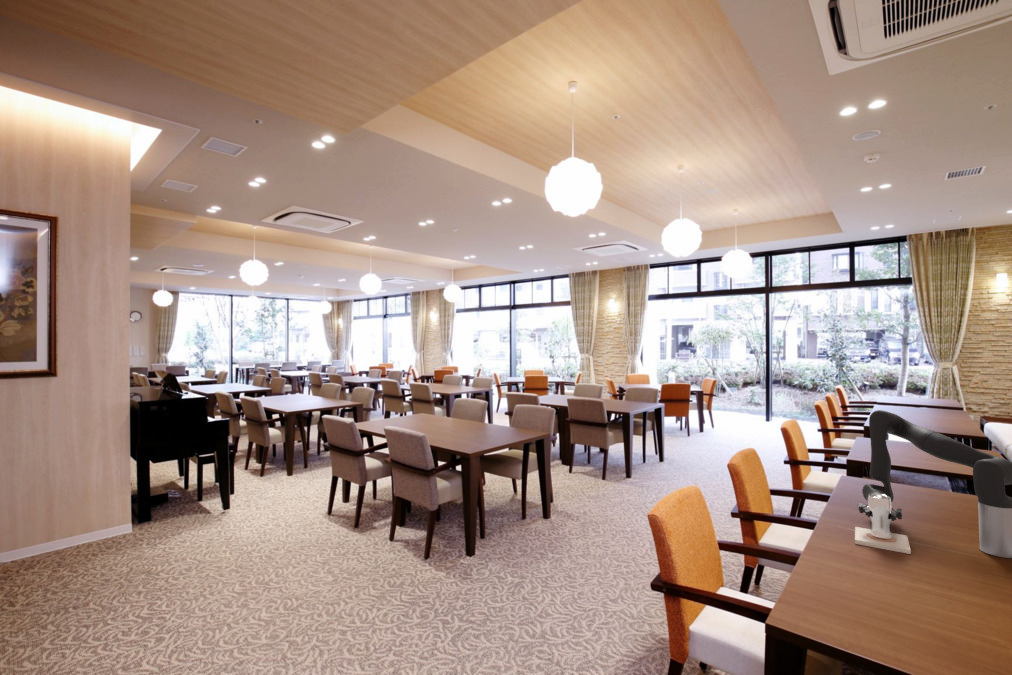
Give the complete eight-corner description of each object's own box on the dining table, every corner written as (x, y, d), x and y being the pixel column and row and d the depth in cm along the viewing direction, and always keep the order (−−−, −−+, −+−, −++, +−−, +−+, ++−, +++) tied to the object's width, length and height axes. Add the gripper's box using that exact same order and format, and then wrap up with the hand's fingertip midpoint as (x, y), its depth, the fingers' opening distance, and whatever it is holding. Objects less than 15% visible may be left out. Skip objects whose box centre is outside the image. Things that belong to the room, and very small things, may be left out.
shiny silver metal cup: (884, 532, 183) (882, 493, 183) (897, 539, 176) (895, 499, 176) (865, 532, 183) (863, 493, 184) (877, 539, 176) (875, 498, 177)
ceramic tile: (907, 539, 181) (906, 535, 181) (910, 554, 168) (910, 549, 168) (855, 530, 191) (855, 526, 191) (855, 543, 178) (854, 539, 178)
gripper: (856, 491, 196) (856, 502, 182) (901, 498, 187) (905, 510, 174) (857, 510, 195) (857, 522, 182) (902, 517, 187) (905, 530, 173)
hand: (880, 516), depth 178 cm, fingers closed on shiny silver metal cup, 6 cm apart
